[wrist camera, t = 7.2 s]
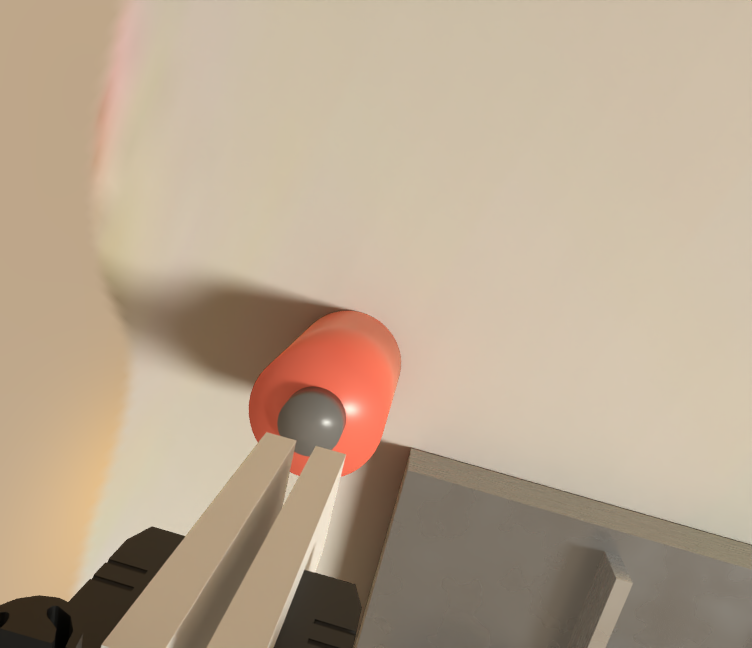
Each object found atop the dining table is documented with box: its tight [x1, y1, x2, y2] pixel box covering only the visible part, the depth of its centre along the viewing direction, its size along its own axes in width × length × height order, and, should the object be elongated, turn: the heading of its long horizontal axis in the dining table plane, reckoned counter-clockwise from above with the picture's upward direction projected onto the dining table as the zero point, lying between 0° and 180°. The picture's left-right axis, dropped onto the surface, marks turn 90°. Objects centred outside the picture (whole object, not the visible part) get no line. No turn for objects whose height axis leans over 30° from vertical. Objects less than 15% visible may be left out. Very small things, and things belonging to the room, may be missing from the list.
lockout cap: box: [249, 311, 401, 477], centre depth 20 cm, size 4×4×7 cm
